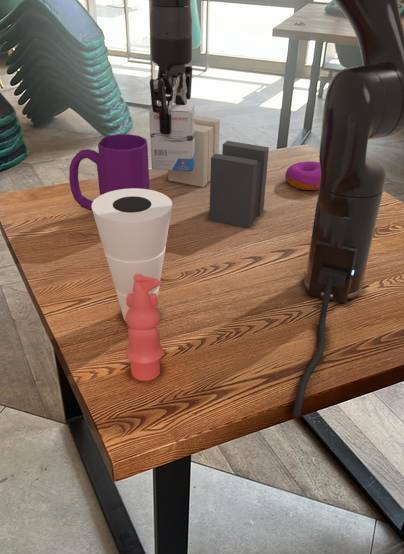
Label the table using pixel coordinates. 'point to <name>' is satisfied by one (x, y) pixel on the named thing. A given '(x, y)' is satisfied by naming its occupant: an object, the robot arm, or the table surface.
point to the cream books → (200, 153)
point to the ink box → (173, 140)
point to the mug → (114, 166)
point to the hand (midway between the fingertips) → (172, 128)
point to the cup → (133, 236)
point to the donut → (304, 175)
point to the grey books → (238, 183)
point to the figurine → (143, 329)
